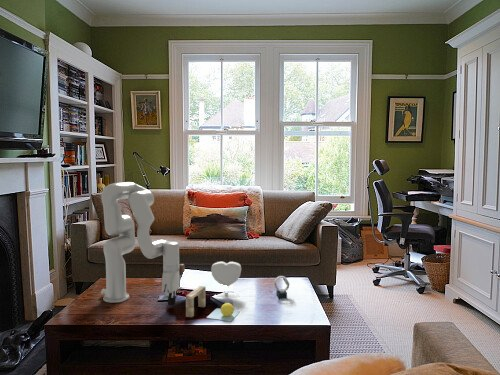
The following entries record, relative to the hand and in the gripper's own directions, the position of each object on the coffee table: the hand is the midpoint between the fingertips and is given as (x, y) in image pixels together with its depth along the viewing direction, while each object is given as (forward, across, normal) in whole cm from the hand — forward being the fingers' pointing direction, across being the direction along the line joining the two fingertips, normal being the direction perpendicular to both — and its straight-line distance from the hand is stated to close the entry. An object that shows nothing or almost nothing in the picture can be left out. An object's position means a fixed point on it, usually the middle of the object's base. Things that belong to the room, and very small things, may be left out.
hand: (171, 304), depth 193 cm
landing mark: (+2, 0, +27) cm, 27 cm away
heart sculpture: (+2, -24, +19) cm, 31 cm away
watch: (+2, -32, +47) cm, 57 cm away
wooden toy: (+2, -24, -11) cm, 26 cm away
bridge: (+2, 0, +13) cm, 13 cm away
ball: (-2, +1, +29) cm, 29 cm away
